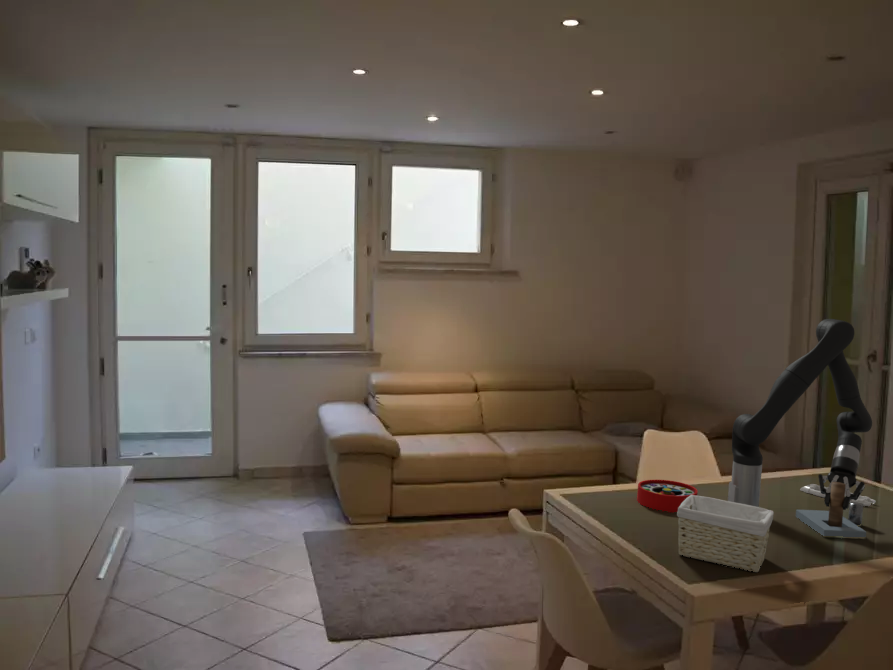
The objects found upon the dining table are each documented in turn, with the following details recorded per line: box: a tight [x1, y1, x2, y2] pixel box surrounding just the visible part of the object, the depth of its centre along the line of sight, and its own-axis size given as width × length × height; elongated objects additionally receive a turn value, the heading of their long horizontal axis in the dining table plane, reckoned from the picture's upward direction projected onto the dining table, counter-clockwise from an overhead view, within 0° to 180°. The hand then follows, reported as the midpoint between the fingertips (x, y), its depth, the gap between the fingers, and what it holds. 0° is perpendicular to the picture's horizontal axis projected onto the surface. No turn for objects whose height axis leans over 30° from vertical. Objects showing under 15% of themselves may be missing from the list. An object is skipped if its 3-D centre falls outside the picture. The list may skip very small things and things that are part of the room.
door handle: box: [799, 483, 877, 507], centre depth 286 cm, size 3×10×25 cm
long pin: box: [828, 482, 846, 527], centre depth 248 cm, size 4×4×14 cm
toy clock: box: [636, 479, 699, 513], centre depth 271 cm, size 20×6×20 cm
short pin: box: [847, 502, 864, 525], centre depth 256 cm, size 4×4×7 cm
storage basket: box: [676, 495, 775, 573], centre depth 221 cm, size 24×16×15 cm
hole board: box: [795, 509, 867, 538], centre depth 252 cm, size 13×20×2 cm, turn 0°
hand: (835, 506), depth 246 cm, fingers open, 4 cm apart
